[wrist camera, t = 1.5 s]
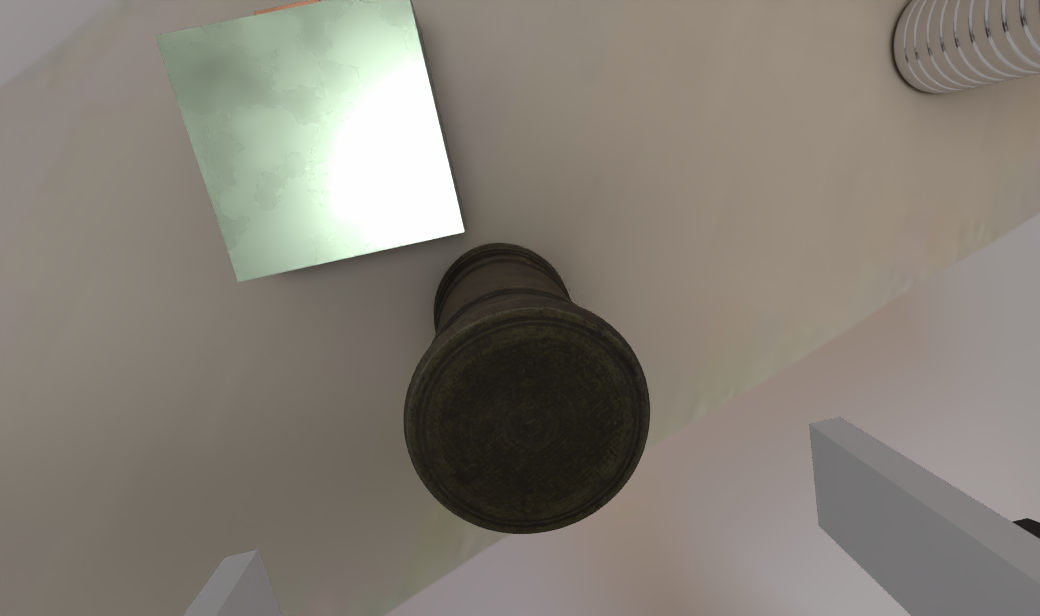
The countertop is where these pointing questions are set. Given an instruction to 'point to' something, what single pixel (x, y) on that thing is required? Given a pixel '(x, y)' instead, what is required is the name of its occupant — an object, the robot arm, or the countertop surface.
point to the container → (522, 398)
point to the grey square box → (315, 132)
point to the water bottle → (967, 43)
